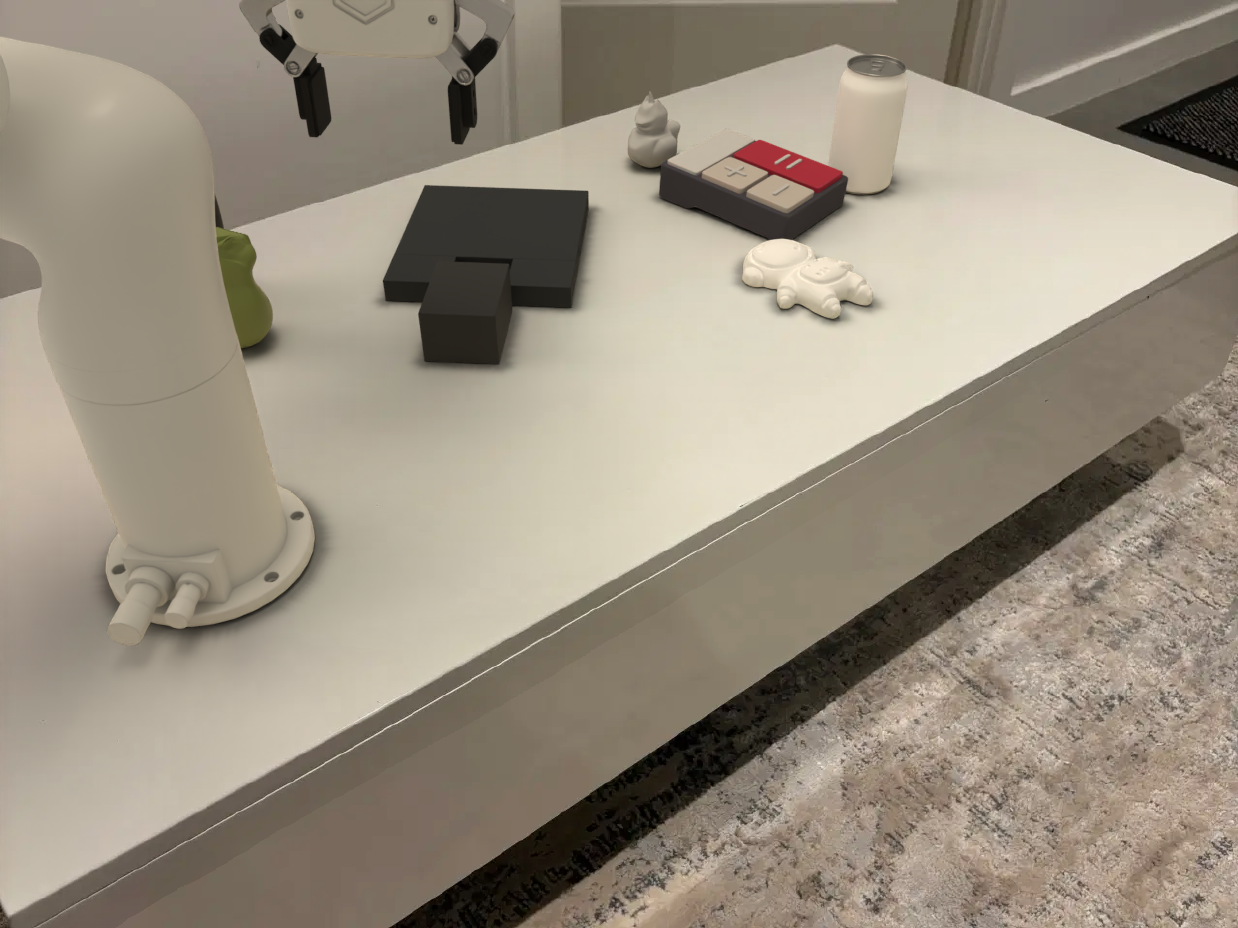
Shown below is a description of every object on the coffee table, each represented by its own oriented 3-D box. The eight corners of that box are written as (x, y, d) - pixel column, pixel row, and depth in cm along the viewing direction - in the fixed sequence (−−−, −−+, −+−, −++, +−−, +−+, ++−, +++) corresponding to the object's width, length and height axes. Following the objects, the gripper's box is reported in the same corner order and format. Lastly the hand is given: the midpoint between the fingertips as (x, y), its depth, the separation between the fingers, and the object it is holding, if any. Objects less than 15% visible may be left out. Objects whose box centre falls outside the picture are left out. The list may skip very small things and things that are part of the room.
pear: (194, 350, 87) (161, 238, 80) (238, 317, 91) (209, 208, 84) (251, 367, 85) (221, 254, 79) (292, 333, 89) (268, 223, 82)
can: (821, 190, 109) (837, 72, 101) (832, 164, 114) (848, 49, 106) (885, 200, 108) (907, 81, 100) (894, 173, 112) (915, 57, 105)
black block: (499, 364, 86) (495, 316, 83) (424, 361, 86) (417, 313, 83) (518, 285, 95) (515, 239, 92) (450, 283, 95) (445, 237, 92)
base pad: (571, 308, 92) (570, 287, 91) (385, 300, 93) (382, 280, 92) (588, 209, 106) (588, 190, 105) (426, 203, 107) (424, 184, 105)
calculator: (789, 210, 98) (659, 156, 105) (782, 252, 101) (656, 196, 108) (852, 169, 105) (725, 121, 111) (843, 209, 107) (721, 159, 114)
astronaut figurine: (809, 331, 90) (814, 300, 88) (722, 268, 97) (724, 238, 95) (887, 301, 93) (893, 270, 91) (797, 243, 101) (801, 213, 99)
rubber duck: (613, 163, 114) (614, 88, 109) (658, 145, 117) (661, 72, 112) (649, 180, 111) (651, 104, 106) (694, 162, 114) (698, 87, 109)
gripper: (187, -148, 60) (246, 149, 71) (496, -136, 59) (509, 162, 70) (234, -170, 66) (282, 107, 77) (516, -159, 65) (525, 119, 76)
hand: (390, 133), depth 73 cm, fingers open, 9 cm apart
